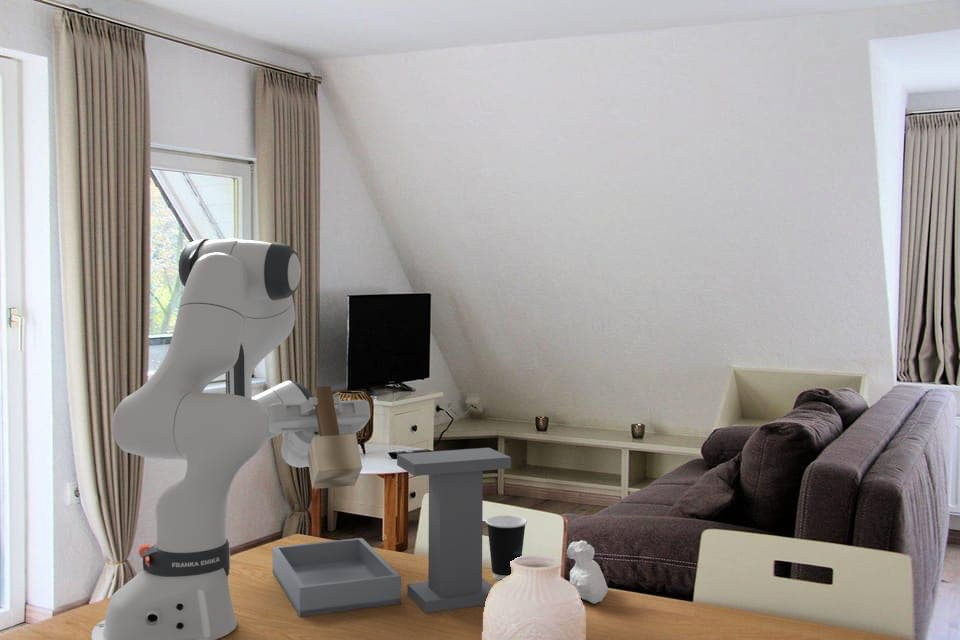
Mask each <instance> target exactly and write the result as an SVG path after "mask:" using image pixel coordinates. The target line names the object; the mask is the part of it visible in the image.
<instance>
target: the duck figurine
mask: <svg viewBox="0 0 960 640" xmlns="http://www.w3.org/2000/svg"><path fill="white" fill-rule="evenodd" d="M595 551H596V550H595V548H594V547H593V546H592V545H591V544H588V542H587V541H586V540H583V539H581V540H579V541H572V542H570V544H569V545H568V547H567V549H566V555H567V557H568V558H569V559H571V560H574V561H575V564H574V566H573V567H572V568H571V569H570V571H569V584H570V583H572V584H574V586H575V587H576V589H577V590H578V592H579V593H580V596H581V598H582V599H581V600H585V601H587V602H590V603H591V604H594V605H595V604H598V603H601V602H603V600H604V598H605V597H606V595H607V593H608V589H609V587H608V585H607V582H606V579H605V576H604V573H603V572H602V570H601V566H600V565H599V564H598V562H596V560H594V557H595Z"/></svg>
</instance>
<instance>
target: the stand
mask: <svg viewBox="0 0 960 640" xmlns="http://www.w3.org/2000/svg"><path fill="white" fill-rule="evenodd" d="M396 466H398V468H399V467H400V468H401V469H403V470H404V471H406V472H408V473H409V474H411V475H412V476H414V477H417V476H418V477H419V476H420V477H421V476H428V561H427V562H428V565H427V566H428V567H427V568H428V571H427V573H428V576H427V577H428V578H427V579H428V581H420V582H419V581H418V582H412V583H407V589H406V591H407V593H406V594H407V596H408V597H409V598H410V599H411V600H412V601H413V602H414V603H415V604H416V606H418V607H419V608H420V609H421V610H422V611H423V612H424V614H428V613H435V612H443V611H449V610H455V609H456V610H458V609H464V608H471V607H477V606H478V607H479V606H485V605H484V604H485V601H486V598H487V596H488V593H489V591H490V589H491V587H492V586H493V585H492V584H491V583H489V582H488V581H487V580H485V578H483V508H484V506H483V501H484V500H483V497H484V495H483V494H484V493H483V491H484V490H483V489H484V488H483V487H484V484H483V482H484V480H483V479H484V477H483V475H484V471H495V470H497V471H498V470H506V469H507V470H508V469H512V457H511V456H509V455H507V454H504V453H502V452H500V451H497V450H496V449H493V448H491V447H480V448H479V447H478V448H464V449H450V450H439V451H438V450H436V451H435V450H434V451H423V452H422V451H421V452H420V451H419V452H408V453H397V454H396Z"/></svg>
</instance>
